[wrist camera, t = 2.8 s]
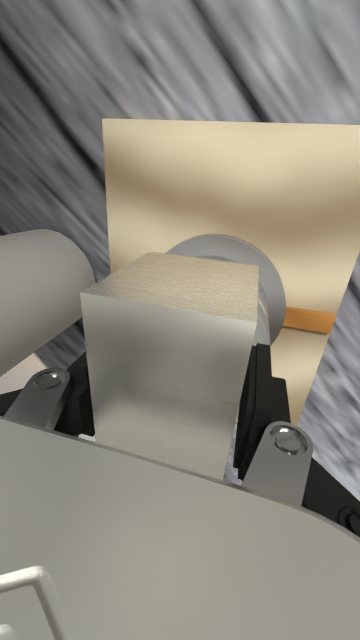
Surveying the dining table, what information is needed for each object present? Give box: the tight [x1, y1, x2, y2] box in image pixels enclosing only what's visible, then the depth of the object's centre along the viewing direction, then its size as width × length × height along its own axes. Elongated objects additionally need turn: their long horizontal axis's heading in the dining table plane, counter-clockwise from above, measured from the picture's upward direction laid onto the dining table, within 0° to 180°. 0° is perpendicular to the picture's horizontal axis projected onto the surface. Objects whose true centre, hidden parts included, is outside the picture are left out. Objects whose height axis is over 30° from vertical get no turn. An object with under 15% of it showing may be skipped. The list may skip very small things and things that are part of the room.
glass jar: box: [80, 252, 270, 480], centre depth 13 cm, size 10×7×10 cm
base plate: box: [102, 119, 360, 426], centre depth 19 cm, size 20×15×2 cm
